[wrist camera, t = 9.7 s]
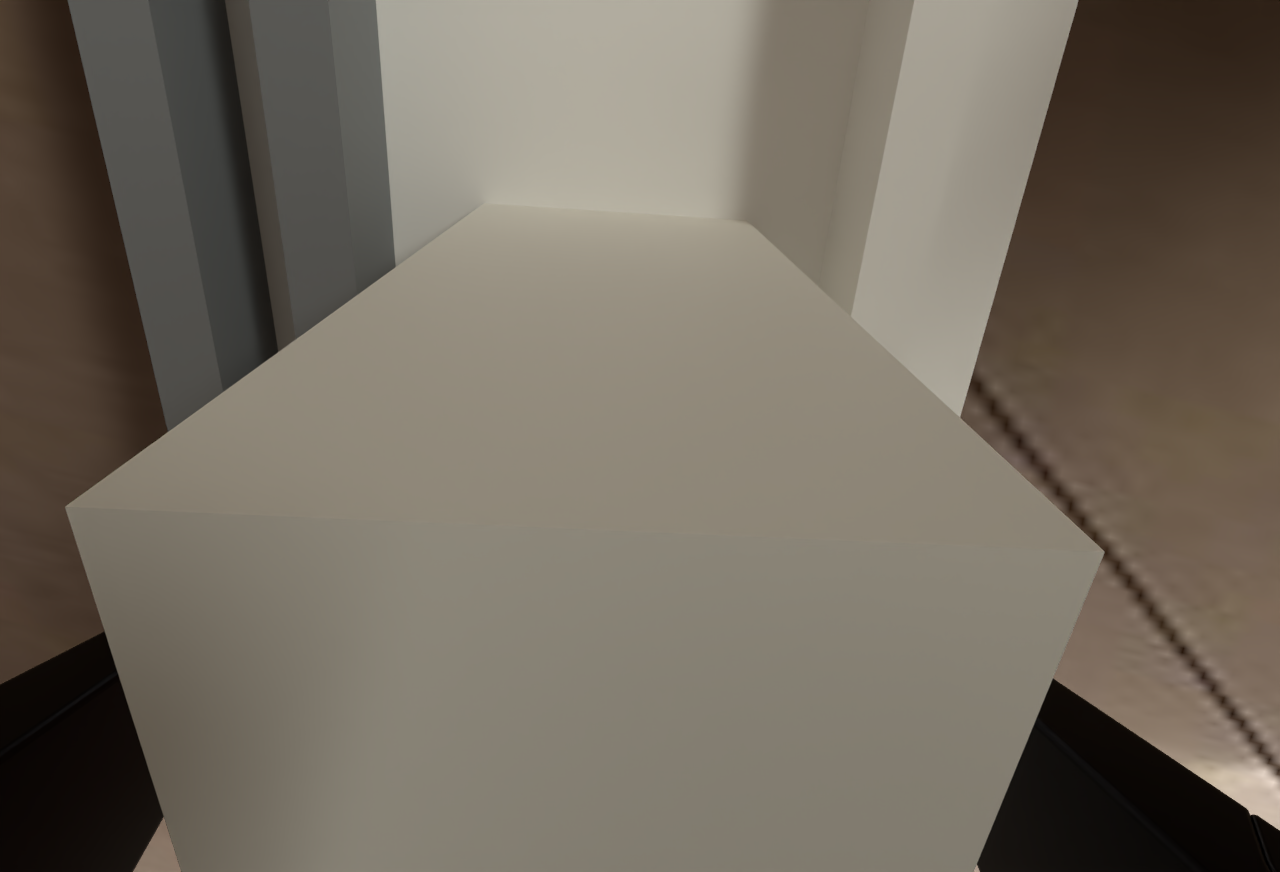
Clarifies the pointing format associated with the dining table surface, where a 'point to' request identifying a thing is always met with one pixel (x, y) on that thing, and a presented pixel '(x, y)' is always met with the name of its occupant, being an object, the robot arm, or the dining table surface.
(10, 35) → the dining table surface
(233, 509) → the cream carton
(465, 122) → the shelf
